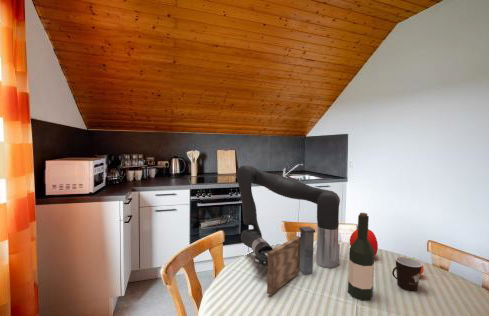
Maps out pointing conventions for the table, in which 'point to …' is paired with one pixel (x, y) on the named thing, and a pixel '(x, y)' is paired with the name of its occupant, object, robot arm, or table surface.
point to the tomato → (371, 239)
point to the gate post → (306, 250)
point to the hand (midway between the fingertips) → (277, 268)
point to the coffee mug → (407, 273)
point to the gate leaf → (283, 264)
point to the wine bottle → (361, 263)
